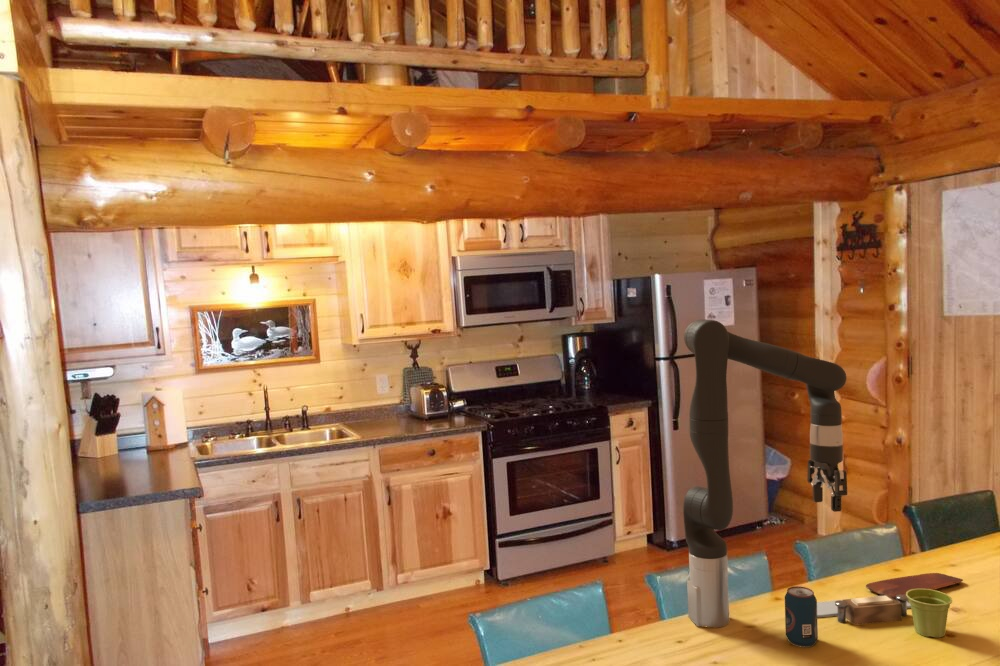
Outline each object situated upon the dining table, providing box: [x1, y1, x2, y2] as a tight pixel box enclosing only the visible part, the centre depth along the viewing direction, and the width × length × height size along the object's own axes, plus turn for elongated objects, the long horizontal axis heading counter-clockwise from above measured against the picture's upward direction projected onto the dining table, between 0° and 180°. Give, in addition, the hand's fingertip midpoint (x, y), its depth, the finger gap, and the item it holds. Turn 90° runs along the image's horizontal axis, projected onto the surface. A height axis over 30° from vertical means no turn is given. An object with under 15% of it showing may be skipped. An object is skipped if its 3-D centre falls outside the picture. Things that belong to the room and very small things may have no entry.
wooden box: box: [842, 595, 903, 626], centre depth 181 cm, size 12×5×5 cm, turn 95°
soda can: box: [784, 585, 819, 648], centre depth 171 cm, size 7×7×12 cm
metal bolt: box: [896, 594, 909, 617], centre depth 182 cm, size 3×3×5 cm
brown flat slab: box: [865, 572, 964, 598], centre depth 197 cm, size 27×10×2 cm, turn 110°
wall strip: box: [817, 596, 911, 619], centre depth 188 cm, size 26×7×1 cm, turn 97°
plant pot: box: [906, 589, 953, 639], centre depth 173 cm, size 9×9×9 cm
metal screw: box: [835, 599, 848, 624], centre depth 181 cm, size 3×3×5 cm
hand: (826, 506), depth 184 cm, fingers open, 8 cm apart
